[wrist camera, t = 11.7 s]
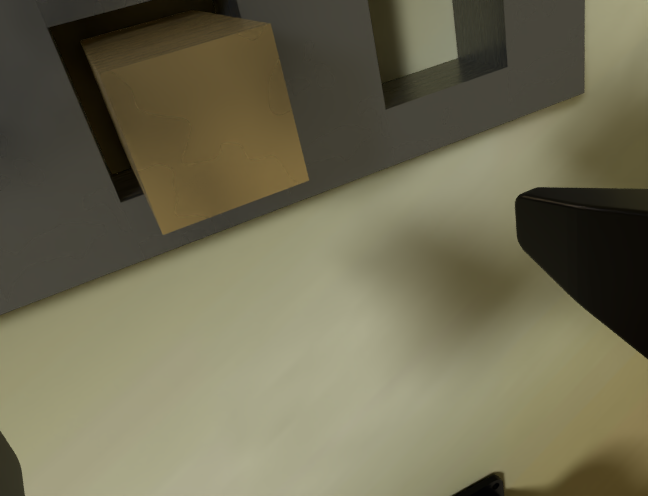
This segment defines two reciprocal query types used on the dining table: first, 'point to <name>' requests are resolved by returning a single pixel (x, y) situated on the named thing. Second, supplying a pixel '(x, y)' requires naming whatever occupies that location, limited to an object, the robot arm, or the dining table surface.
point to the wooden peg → (199, 112)
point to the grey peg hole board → (307, 106)
